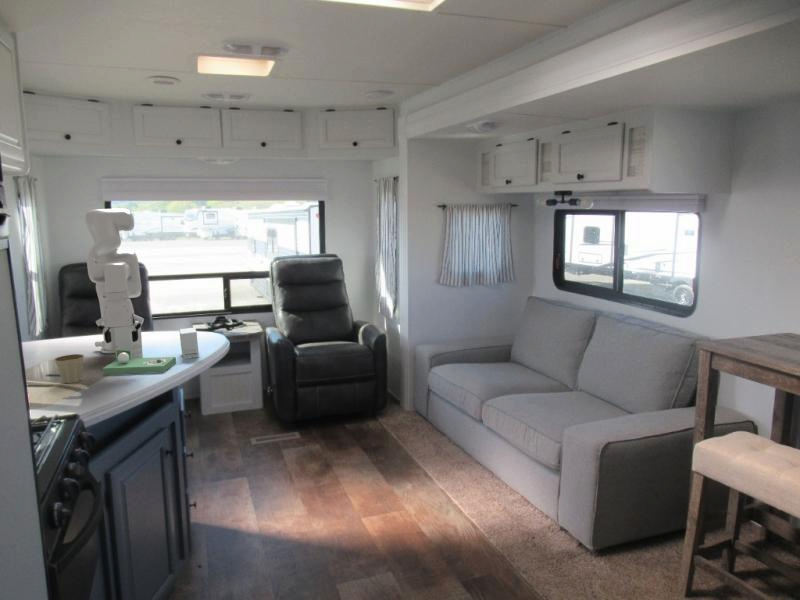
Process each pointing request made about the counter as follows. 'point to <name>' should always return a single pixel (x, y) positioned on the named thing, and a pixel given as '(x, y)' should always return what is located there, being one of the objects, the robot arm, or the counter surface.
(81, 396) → the counter surface
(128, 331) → the skincare box
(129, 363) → the putting mat
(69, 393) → the counter surface
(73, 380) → the flower pot
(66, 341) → the counter surface
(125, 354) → the ball
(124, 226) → the robot arm
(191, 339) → the skincare box
